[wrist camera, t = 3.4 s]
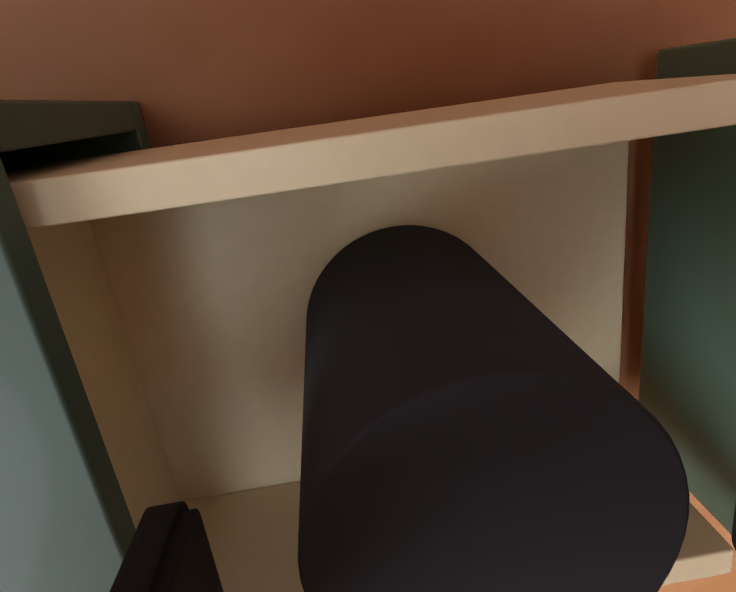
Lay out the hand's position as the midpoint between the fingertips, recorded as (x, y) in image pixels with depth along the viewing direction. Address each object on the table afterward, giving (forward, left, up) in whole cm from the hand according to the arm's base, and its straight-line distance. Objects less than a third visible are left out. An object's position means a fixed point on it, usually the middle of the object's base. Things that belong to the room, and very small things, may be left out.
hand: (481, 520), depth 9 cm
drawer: (0, +3, -9) cm, 10 cm away
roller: (0, 0, -8) cm, 8 cm away
